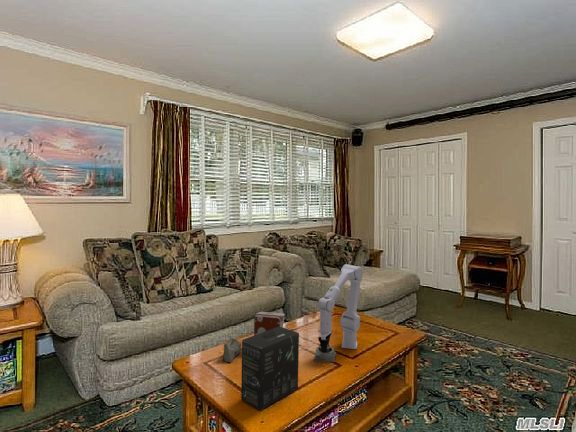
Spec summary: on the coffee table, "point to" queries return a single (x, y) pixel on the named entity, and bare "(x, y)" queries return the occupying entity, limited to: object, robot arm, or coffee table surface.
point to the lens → (327, 348)
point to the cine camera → (267, 321)
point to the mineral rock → (231, 350)
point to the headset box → (269, 366)
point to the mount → (325, 355)
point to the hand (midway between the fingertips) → (325, 348)
